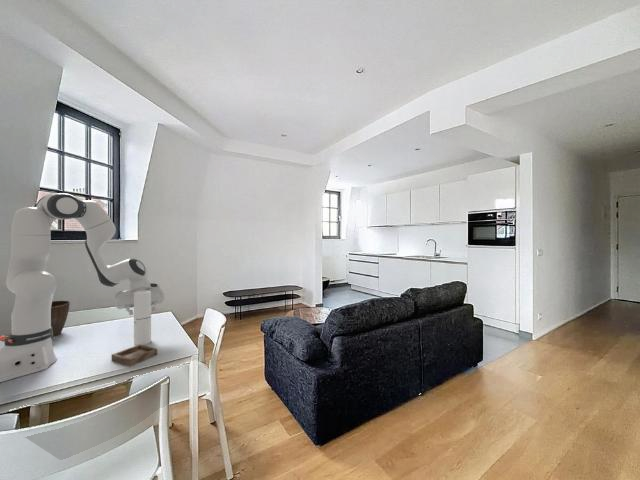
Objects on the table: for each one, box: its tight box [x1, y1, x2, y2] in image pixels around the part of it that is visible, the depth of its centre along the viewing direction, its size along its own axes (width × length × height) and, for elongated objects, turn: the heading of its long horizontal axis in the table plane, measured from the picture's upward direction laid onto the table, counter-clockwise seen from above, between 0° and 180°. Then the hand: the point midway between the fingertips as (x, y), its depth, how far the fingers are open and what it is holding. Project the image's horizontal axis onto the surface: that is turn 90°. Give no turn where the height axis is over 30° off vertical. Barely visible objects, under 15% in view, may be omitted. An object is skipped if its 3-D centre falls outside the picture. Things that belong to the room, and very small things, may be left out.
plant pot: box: [51, 300, 71, 337], centre depth 145 cm, size 15×15×16 cm
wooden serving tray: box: [111, 344, 158, 367], centre depth 120 cm, size 12×12×2 cm
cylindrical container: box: [133, 291, 152, 346], centre depth 136 cm, size 7×7×25 cm
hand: (142, 312), depth 136 cm, fingers open, 8 cm apart
